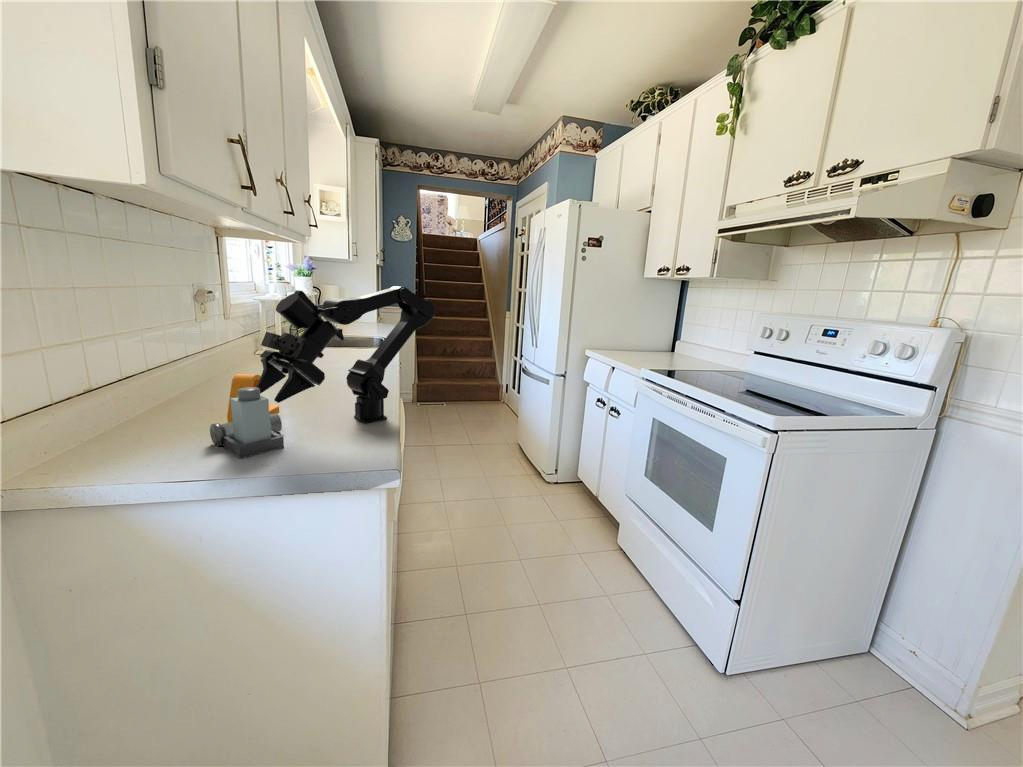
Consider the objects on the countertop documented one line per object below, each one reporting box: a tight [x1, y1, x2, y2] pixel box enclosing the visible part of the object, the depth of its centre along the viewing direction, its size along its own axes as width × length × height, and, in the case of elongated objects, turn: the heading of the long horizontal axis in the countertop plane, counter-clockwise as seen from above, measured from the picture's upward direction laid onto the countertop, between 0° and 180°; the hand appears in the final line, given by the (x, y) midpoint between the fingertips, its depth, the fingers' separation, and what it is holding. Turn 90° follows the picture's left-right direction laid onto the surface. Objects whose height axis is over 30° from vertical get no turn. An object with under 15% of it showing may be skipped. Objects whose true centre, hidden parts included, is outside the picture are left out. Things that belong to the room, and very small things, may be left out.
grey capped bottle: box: [229, 387, 271, 445], centre depth 89 cm, size 5×5×13 cm
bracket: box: [226, 373, 280, 423], centre depth 106 cm, size 11×7×12 cm, turn 1°
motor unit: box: [209, 413, 285, 460], centre depth 93 cm, size 13×13×5 cm
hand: (266, 397), depth 91 cm, fingers open, 9 cm apart
